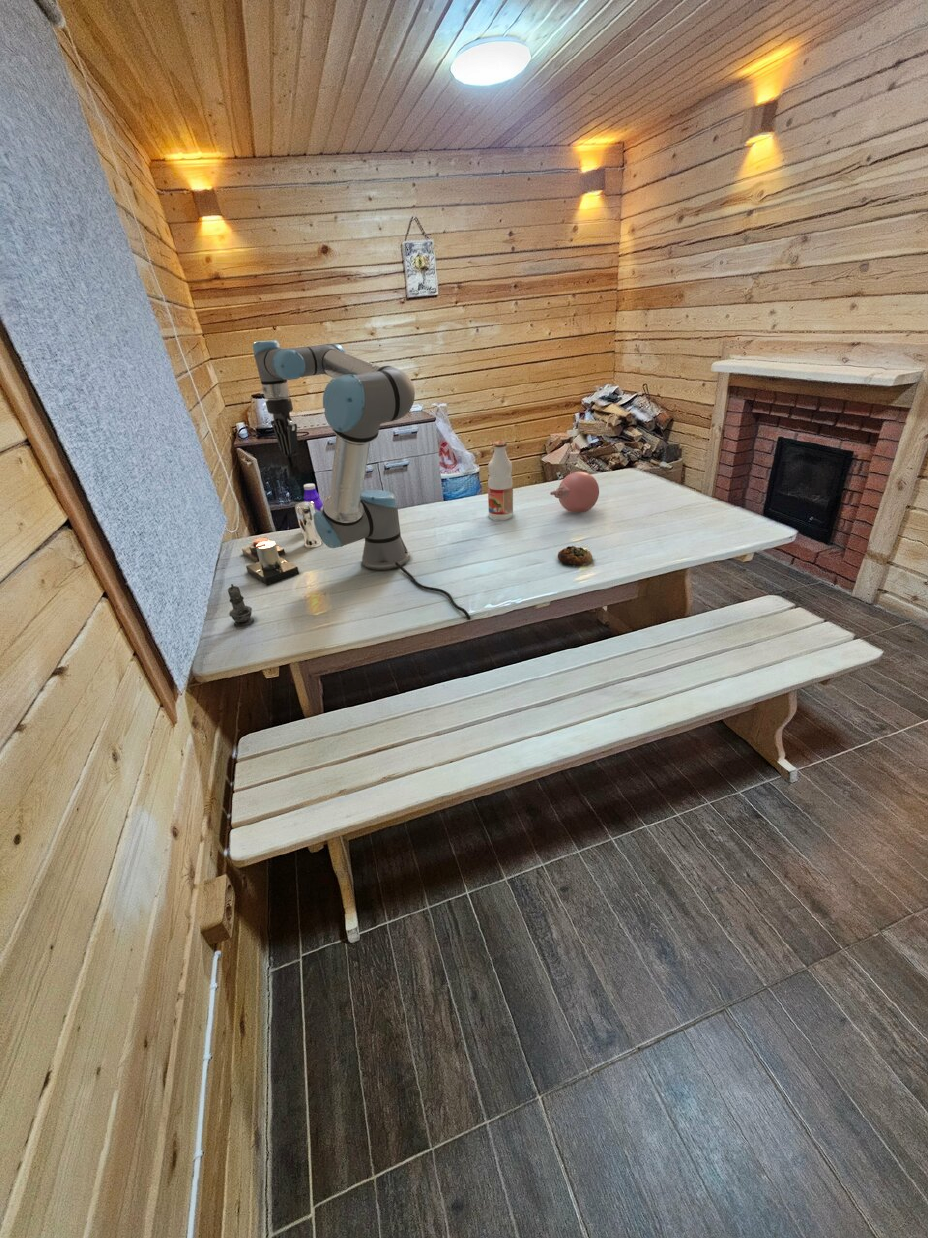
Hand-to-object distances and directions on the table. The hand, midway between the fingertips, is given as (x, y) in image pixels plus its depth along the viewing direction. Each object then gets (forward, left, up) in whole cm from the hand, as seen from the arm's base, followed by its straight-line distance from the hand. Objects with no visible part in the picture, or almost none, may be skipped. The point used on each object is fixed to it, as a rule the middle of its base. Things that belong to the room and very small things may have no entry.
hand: (295, 475), depth 169 cm
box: (+10, +13, -26) cm, 31 cm away
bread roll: (-75, -52, -27) cm, 95 cm away
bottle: (+16, -12, -27) cm, 33 cm away
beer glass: (+4, -3, -27) cm, 27 cm away
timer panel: (-7, +18, -26) cm, 33 cm away
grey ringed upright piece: (-30, +38, -27) cm, 55 cm away
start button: (+10, +13, -23) cm, 28 cm away
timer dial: (-7, +18, -24) cm, 31 cm away
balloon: (-49, -86, -27) cm, 102 cm away
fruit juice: (-30, -66, -27) cm, 77 cm away
